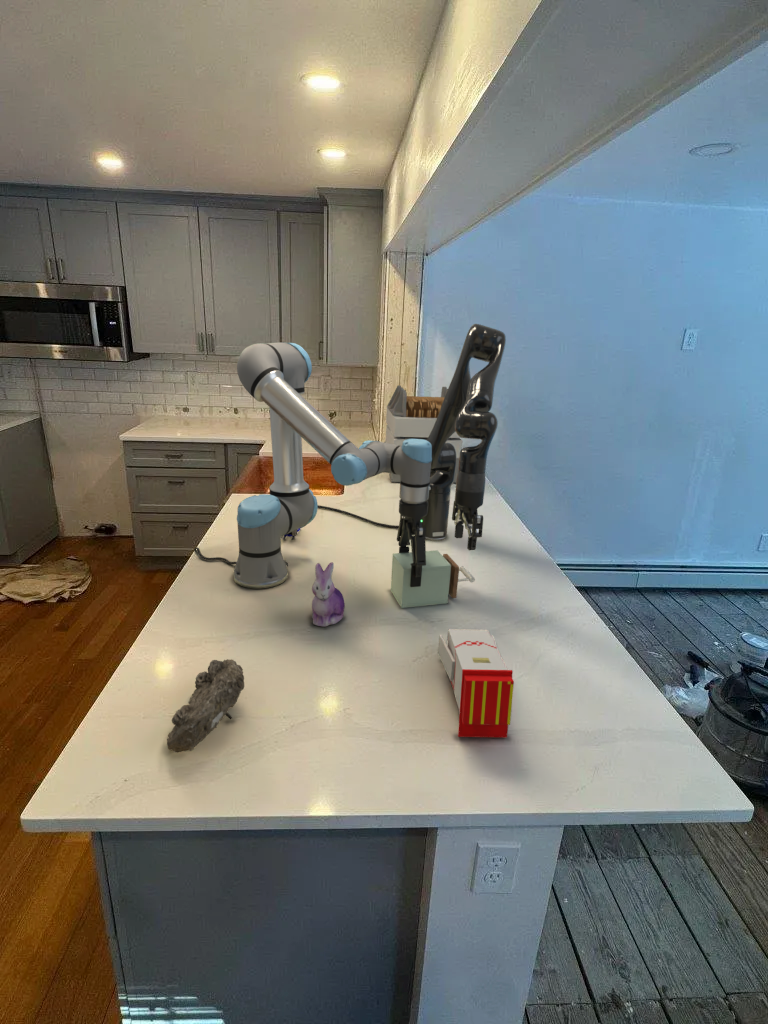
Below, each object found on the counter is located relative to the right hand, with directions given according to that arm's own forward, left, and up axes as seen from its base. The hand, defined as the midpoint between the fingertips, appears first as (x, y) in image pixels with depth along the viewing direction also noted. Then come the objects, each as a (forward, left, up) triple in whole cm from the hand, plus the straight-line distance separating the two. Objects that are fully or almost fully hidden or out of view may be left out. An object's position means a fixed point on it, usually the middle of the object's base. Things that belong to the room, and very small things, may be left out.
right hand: (464, 543), depth 155 cm
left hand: (-10, -12, -9) cm, 18 cm away
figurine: (-20, -34, -15) cm, 42 cm away
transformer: (-74, +97, -15) cm, 123 cm away
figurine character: (-66, 0, -15) cm, 67 cm away
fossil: (-13, -76, -15) cm, 78 cm away
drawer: (-4, -5, -14) cm, 15 cm away
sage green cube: (-8, -10, -15) cm, 19 cm away
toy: (+23, -38, -15) cm, 47 cm away
